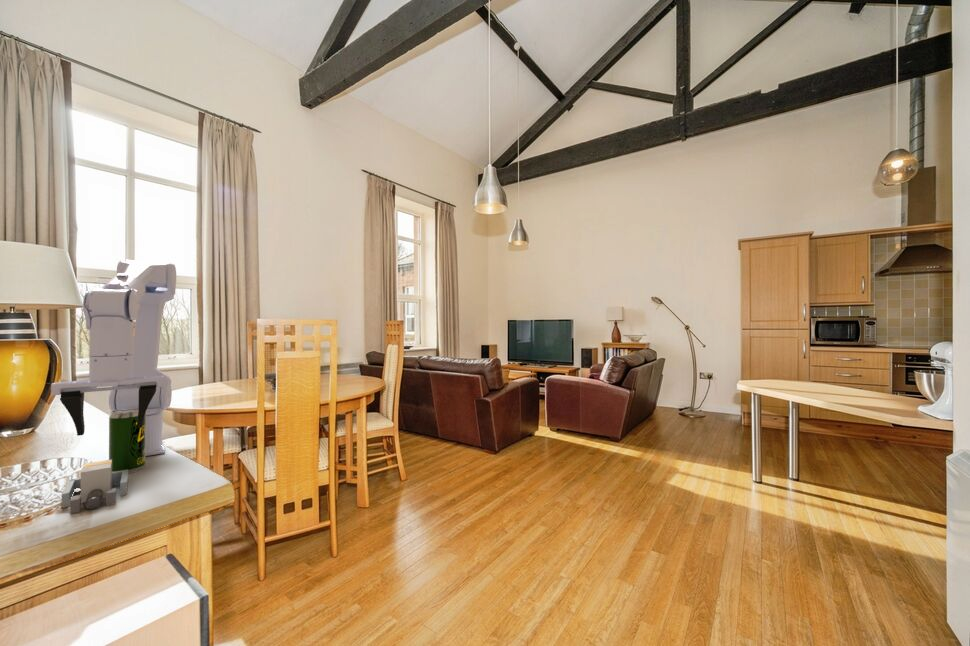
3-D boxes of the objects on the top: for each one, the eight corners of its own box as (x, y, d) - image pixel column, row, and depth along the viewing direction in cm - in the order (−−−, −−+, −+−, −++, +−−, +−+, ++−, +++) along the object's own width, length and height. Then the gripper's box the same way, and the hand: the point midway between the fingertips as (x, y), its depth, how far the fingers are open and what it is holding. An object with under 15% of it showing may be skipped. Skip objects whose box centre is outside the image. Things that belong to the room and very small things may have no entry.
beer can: (105, 477, 74) (105, 414, 74) (112, 468, 78) (112, 408, 78) (142, 471, 77) (143, 411, 77) (147, 463, 81) (147, 406, 81)
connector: (83, 492, 67) (84, 463, 67) (112, 487, 70) (112, 459, 70) (76, 514, 60) (76, 481, 60) (108, 507, 62) (108, 475, 62)
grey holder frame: (68, 492, 67) (68, 479, 67) (128, 481, 72) (128, 469, 72) (57, 516, 59) (57, 502, 59) (125, 501, 64) (125, 488, 64)
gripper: (47, 359, 63) (47, 443, 63) (164, 354, 72) (163, 428, 72) (55, 356, 68) (55, 433, 68) (163, 352, 78) (162, 420, 78)
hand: (111, 430), depth 71 cm, fingers open, 7 cm apart
